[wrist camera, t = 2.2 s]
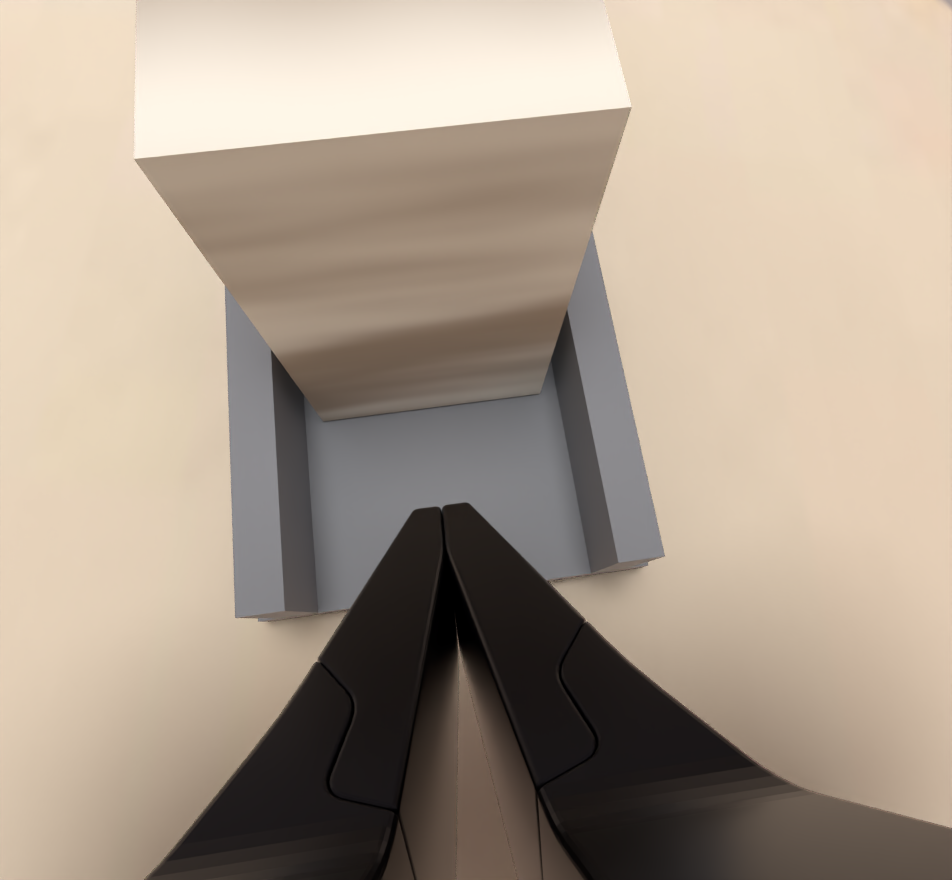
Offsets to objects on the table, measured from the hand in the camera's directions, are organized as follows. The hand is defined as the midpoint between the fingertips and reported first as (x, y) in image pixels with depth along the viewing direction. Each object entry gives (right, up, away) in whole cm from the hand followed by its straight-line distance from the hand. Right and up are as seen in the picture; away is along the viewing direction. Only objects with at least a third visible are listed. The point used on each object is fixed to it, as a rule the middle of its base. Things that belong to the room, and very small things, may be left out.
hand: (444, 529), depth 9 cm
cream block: (-1, +4, +8) cm, 9 cm away
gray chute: (-1, +4, +9) cm, 10 cm away
